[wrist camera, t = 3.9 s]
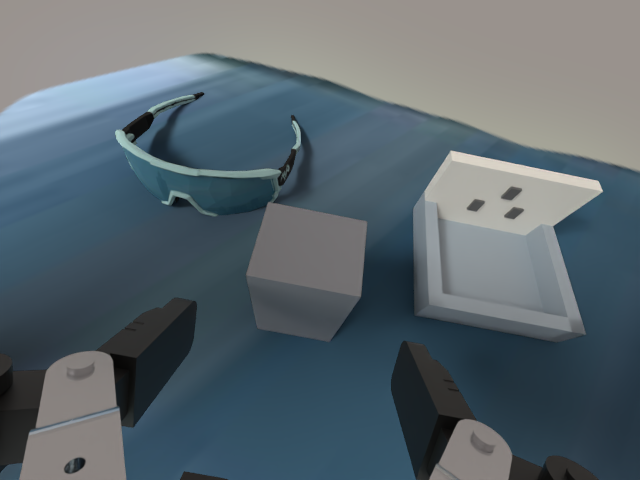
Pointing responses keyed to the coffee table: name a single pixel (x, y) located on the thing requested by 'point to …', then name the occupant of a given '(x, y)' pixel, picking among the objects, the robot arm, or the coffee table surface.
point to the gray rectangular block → (306, 271)
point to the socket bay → (497, 247)
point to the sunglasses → (202, 173)
